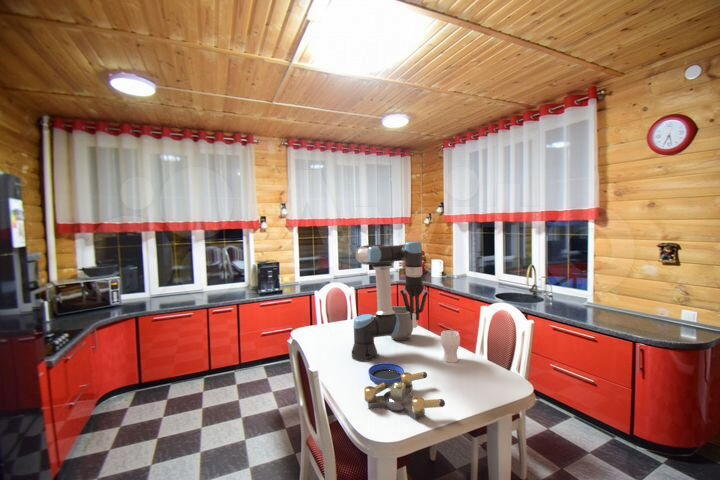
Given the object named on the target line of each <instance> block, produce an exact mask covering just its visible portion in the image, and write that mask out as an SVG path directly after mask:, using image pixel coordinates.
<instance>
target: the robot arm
mask: <svg viewBox="0 0 720 480" xmlns="http://www.w3.org/2000/svg"><path fill="white" fill-rule="evenodd" d="M422 245H423V244H422V242H421V241H407V242H405V244H399V245H390V244H372V245H371V244H370V245H368V244H367V245H362V246H359V247H357V249H356V250H355V251H354V254H353V255H354V259H355V261H356V262H357V263H359V264H361V265H368V266H370V265H371V266H372V269H374V271H375V285H376V298H377V299H376V301H377V311H376V312H375V316H374V315H373V314H371V313H370V314H369V313H368V314H366V313H365V314H361V315H357V316H356V317H355V318H354V319H353V340H354V341H353V346H352V349H351V358H352V359H353V360H355V361H359V362H367V361H368V362H369V361H373V360H375V359H376V358H377V357H378V350H377V347H376V344H375V338H380V337H388V336H389V337H391V335H395V334H397V332H398V330H399V318H398V316H397V315H396V314H395V312H394V311H393V310H392V307H393V303H392V302H393V301H392V289H391V288H392V286H391V283H392V282H391V272H390V271H391V268H392V267H393V264H394V263H395V262H402V261H405V265H404V267H405V286H404V289H401V290H400V292H399V293H400V294H401V296H402V299H403V302H404V304H403V305H404V307H406V311H408V312H410V319H411V320H413V329H417V327H418V321H419V320H420V313H423V312H424V310H425V306H426V305H425V304H426V300H427V296H428V295H429V292H430V291H427V290H426V289H425V288H424V285H423V280H424V279H423V276H422V275H423V246H422ZM421 294H422V295H423V296H422V299H421V302H420V295H421ZM408 295H409V296H408ZM408 297H409V298H408Z"/></svg>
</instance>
